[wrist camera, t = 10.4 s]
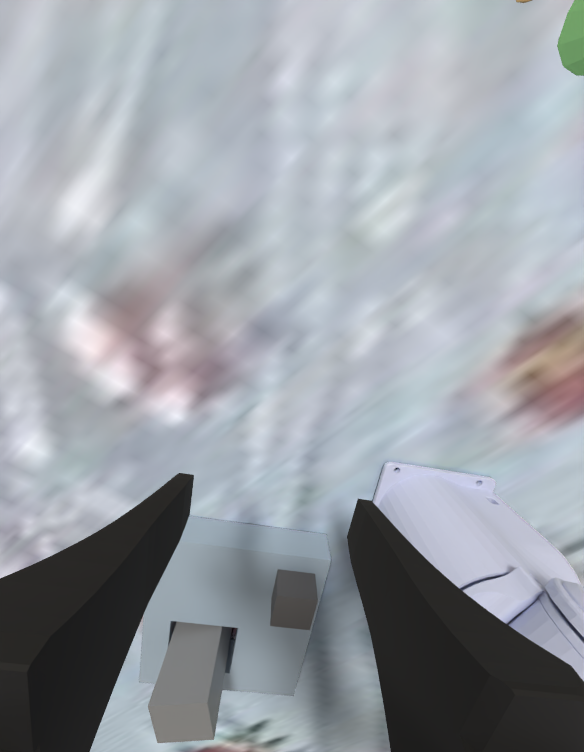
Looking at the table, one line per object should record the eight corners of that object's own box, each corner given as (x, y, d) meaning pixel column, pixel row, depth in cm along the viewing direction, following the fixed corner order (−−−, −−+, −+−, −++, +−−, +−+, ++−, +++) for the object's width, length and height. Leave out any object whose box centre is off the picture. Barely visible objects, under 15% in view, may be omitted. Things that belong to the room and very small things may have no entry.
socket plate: (326, 534, 24) (336, 586, 19) (292, 661, 27) (294, 728, 23) (163, 512, 23) (134, 561, 18) (152, 647, 26) (126, 715, 22)
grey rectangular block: (228, 595, 25) (207, 702, 18) (232, 627, 26) (213, 739, 19) (185, 597, 25) (147, 706, 18) (190, 629, 26) (157, 743, 19)
